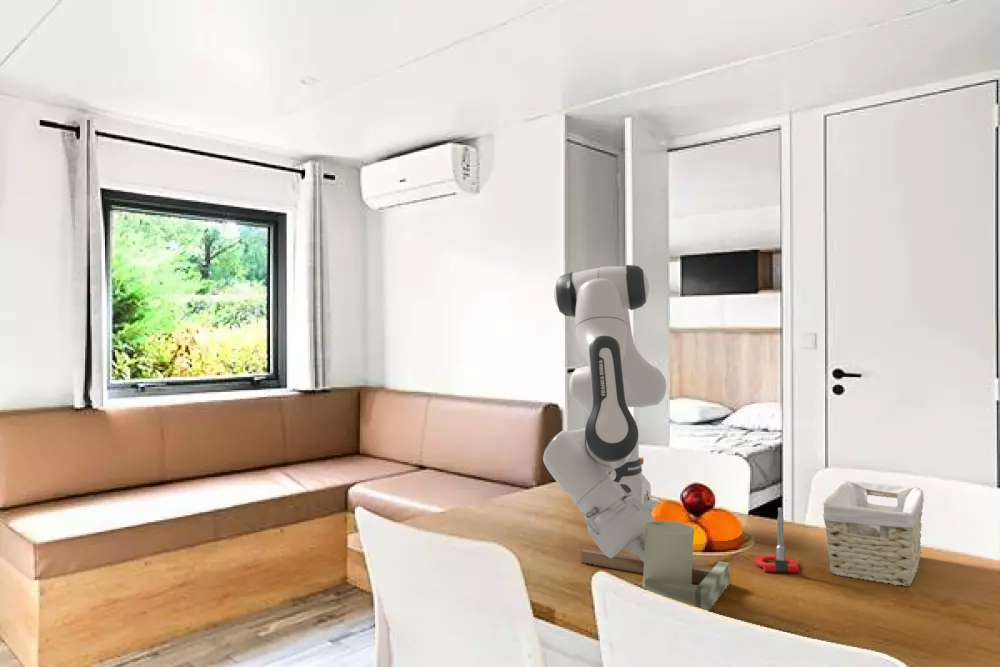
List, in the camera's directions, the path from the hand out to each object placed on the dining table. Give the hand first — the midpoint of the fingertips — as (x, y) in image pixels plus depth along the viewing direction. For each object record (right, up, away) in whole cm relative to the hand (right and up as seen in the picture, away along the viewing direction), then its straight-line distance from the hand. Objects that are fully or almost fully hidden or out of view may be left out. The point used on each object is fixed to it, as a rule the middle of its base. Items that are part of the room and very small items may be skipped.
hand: (651, 559), depth 137 cm
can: (+2, -5, -2) cm, 6 cm away
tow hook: (+28, -5, +10) cm, 30 cm away
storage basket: (+48, -4, +9) cm, 49 cm away
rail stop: (-2, -5, +1) cm, 5 cm away
